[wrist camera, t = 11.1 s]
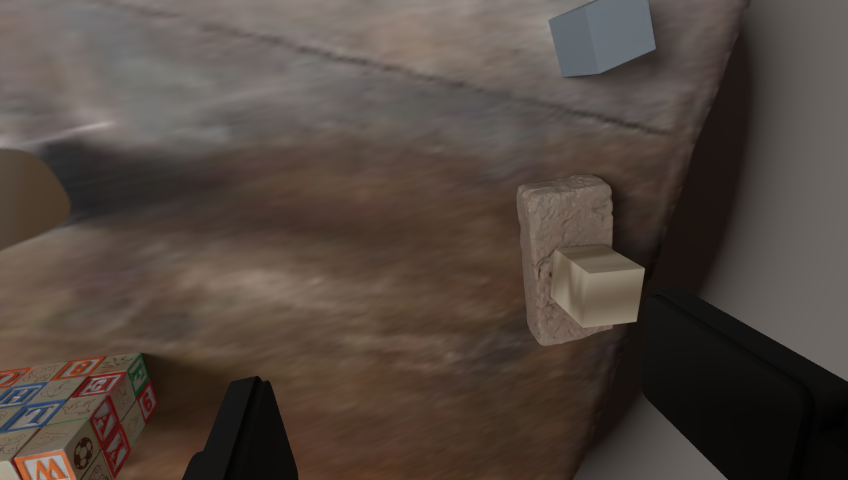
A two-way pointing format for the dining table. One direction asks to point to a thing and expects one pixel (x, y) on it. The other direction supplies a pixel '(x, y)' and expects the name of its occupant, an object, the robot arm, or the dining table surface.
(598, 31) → the slate block
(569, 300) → the beech block
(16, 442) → the stack of blocks
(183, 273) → the dining table surface
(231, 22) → the dining table surface
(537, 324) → the brick
